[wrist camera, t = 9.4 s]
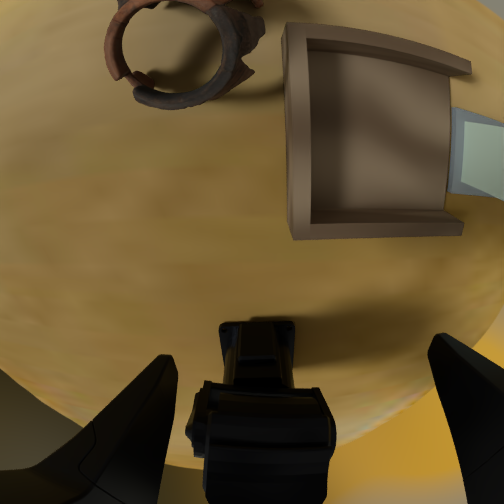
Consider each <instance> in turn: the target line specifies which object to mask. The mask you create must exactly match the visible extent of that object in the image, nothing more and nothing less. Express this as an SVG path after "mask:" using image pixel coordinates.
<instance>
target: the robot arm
mask: <svg viewBox="0 0 504 504" xmlns="http://www.w3.org/2000/svg"><path fill="white" fill-rule="evenodd" d="M288 326H291V327H290V328H288ZM223 328H225V329H227V330H223ZM219 337H220V343H221V349H222V355H223V361H224V377H223V384H222V383H213V382H212V381H206V380H205V381H204V385H203V388H200V392H198V393H196V394H195V399H194V404H193V409H192V413H191V415H190V418H189V420H188V423H187V425H186V429H185V435H186V436H187V437H188V438H189V439H190V441H191V442H192V447H193V448H194V457H198V458H204V470H203V489H204V491H205V496H206V499H207V501H208V503H209V504H323V502H324V500H325V499H326V497H327V477H328V467H329V461H330V459H331V457H332V455H333V453H334V450H335V446H336V435H337V433H336V425H335V421H334V418H333V416H332V414H331V412H330V409H329V407H328V405H327V403H326V401H325V399H324V397H323V395H322V393H321V391H320V389H319V387H312V388H311V389H304V388H294V380H293V372H292V368H293V355H294V340H295V324H294V322H292V321H278V322H254V323H222V324H220V326H219ZM427 355H428V360H429V363H430V367H431V370H432V374H433V378H434V382H435V385H436V389H437V392H438V395H439V398H440V401H441V404H442V407H443V409H444V413H445V416H446V418H447V422H448V425H449V428H450V432H451V435H452V438H453V442H454V445H455V449H456V453H457V456H458V460H459V464H460V468H461V473H462V477H463V482H464V487H465V492H466V497H467V503H468V504H504V369H503V368H501V367H500V366H498V365H497V364H495V363H494V362H492V361H490V360H489V359H487V358H486V357H484V356H482V355H481V354H479V353H478V352H476V351H474V350H473V349H471V348H470V347H468V346H466V345H465V344H463V343H461V342H460V341H458V340H457V339H455V338H453V337H452V336H450V335H448V334H447V333H439V334H436V335H435V336H434V337H433V340H432V342H431V344H430V347H429V349H428V354H427ZM177 383H178V371H177V368H176V365H175V362H174V359H173V357H172V355H165V354H160V355H158V356H157V357H156V358H155V359H154V360H153V361H152V362H151V363H150V364H149V365H148V366H147V367H146V368H145V369H144V370H143V371H142V372H141V373H140V374H139V375H138V376H137V377H136V378H135V379H134V380H133V381H132V382H131V383H130V384H129V385H128V386H127V387H125V388H124V389H123V390H122V391H121V392H120V393H119V394H118V395H117V396H116V397H115V398H114V399H113V400H112V401H111V402H110V403H109V404H108V405H107V406H106V407H105V408H104V409H103V410H102V411H101V412H100V413H99V414H98V415H97V416H96V417H95V418H94V419H93V421H90V422H89V423H88V424H87V425H86V426H85V427H84V428H83V429H82V430H81V431H80V432H79V433H77V434H76V435H75V436H74V437H73V438H72V439H70V440H69V441H68V442H67V443H65V444H64V445H63V446H61V447H60V448H59V449H57V450H56V451H55V452H54V453H52V454H51V455H49V456H48V457H47V458H45V459H44V460H43V461H41V462H40V463H38V464H37V465H34V466H32V467H29V468H25V469H16V470H2V471H0V504H157V500H158V495H159V489H160V484H161V479H162V474H163V468H164V463H165V458H166V454H167V449H168V444H169V439H170V434H171V430H172V425H173V420H174V414H175V403H176V393H177Z"/></svg>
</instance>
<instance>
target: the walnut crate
mask: <svg viewBox="0 0 504 504" xmlns="http://www.w3.org/2000/svg"><path fill="white" fill-rule="evenodd" d="M281 45H282V61H283V79H284V100H285V125H286V161H287V222H288V225H289V228H290V232H291V235H292V238H293V240H319V239H349V238H384V237H423V236H462V232H463V227H464V223H463V222H462V221H460V220H459V219H457V218H455V217H454V216H452V215H451V214H449V213H447V212H446V211H444V210H443V208H444V201H445V193H446V184H447V175H448V163H449V147H450V91H449V76H458V75H469V74H472V68H471V61H468V60H466V59H464V58H461V57H459V56H456V55H453V54H451V53H448V52H445V51H442V50H439V49H437V48H434V47H430V46H427V45H424V44H421V43H417V42H414V41H410V40H407V39H403V38H399V37H395V36H391V35H386V34H382V33H377V32H372V31H367V30H361V29H355V28H348V27H341V26H333V25H323V24H311V23H294V22H287V23H286V26H285V29H284V32H283V34H282V37H281Z"/></svg>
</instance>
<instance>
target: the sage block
mask: <svg viewBox="0 0 504 504" xmlns="http://www.w3.org/2000/svg"><path fill="white" fill-rule="evenodd" d="M461 182H463V183H466V184H468V185H470V186H473V187H475V188H477V189H479V190H482V191H484V192H486V193H488V194H490V195H492V196H494V197H496V198H498V199H500V200H503V201H504V127H499V126H493V125H487V124H480V123H473V122H465V127H464V152H463V165H462V176H461Z"/></svg>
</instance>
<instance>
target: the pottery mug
mask: <svg viewBox="0 0 504 504" xmlns="http://www.w3.org/2000/svg"><path fill="white" fill-rule="evenodd" d="M117 1H118V12H117V13H116V14H115V15H114V17H113V19H112V21H111V22H110V25H109V27H108V29H107V34H106V37H105V43H104V52H105V60H106V65H107V68H108V70H109V72H110V74H111V76H112V77H113V79H114V80H115V81H117V80H120V79H122V78H123V77H125V78H126V79H127V80H128V81H129V83H130V84H131V85H132V86H133V87H134V89H133V95H134V98H135V100H136V101H138V102H139V103H142V104H144V105H147V106H150V107H155V108H159V109H165V110H178V109H184V108H187V107H193V106H196V105H201V104H202V103H204V102H206V101H208V100H215V99H217V98H219V97H221V96H223V95H224V94H226V93H227V92H229V91H230V90H231V89H233V88H234V87H236V86H237V85H239V84H240V83H242V82H243V81H245V80H247V79H248V78H249V77H250V76H252V75H253V74H254V73H255V71H254V70H252V69H250V68H249V67H248V66H247V65H246V64H245V63H244V62H243V61H242V60H241V58H242V57H243V56H245V55H247V54H249V53H251V51H252V50H253V49H254V48H255V47H256V46H257V44H258V41H259V39H260V38H261V37H262V36H263V35H264V34H265V24H264V20H263V18H262V17H260V16H257V17H255V16H254V17H253V16H251V15H250V14H247V13H245V12H240V11H238V10H235V9H233V8H230V7H228V6H225V4H227V3H229V2H230V1H232V0H117ZM161 1H178V2H183V3H187V4H190V5H192V6H194V7H196V8H198V9H199V10H201V11H202V12H204V13H205V14H208V15H209V16H210V18H211V19H212V21H213V22H214V23H215V25H216V27H217V28H218V30H219V33H220V35H221V40H222V47H223V53H222V60H221V65H220V67H219V69H218V71H217V72H216V74H215V75H214V76H213V78H212V79H211V80H210V81H209V82H207V83H206V84H205V85H203V86H202V87H200V88H198V89H196V90H193V91H190V92H184V93H165V92H161V91H158V90H155V89H154V80H153V79H152V78H150V77H148V76H147V75H145V74H143V73H142V72H139V71H135V72H133V73H131V71H130V69H129V67H128V66H127V63H126V61H125V59H124V56H123V51H122V37H123V34H124V30H125V28H126V26H127V24H128V23H129V20H130V19H131V18H132V16H133V15H135V14H136V13H137V12H138V11H139V10H141V9H142V8H149V9H154V8H155V7H156V6H157V5H158V4H159V3H160V2H161ZM251 2H252V3H253V4H254V6H255V7H256V8H260V7H262V6H263V2H262V0H251Z"/></svg>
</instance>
